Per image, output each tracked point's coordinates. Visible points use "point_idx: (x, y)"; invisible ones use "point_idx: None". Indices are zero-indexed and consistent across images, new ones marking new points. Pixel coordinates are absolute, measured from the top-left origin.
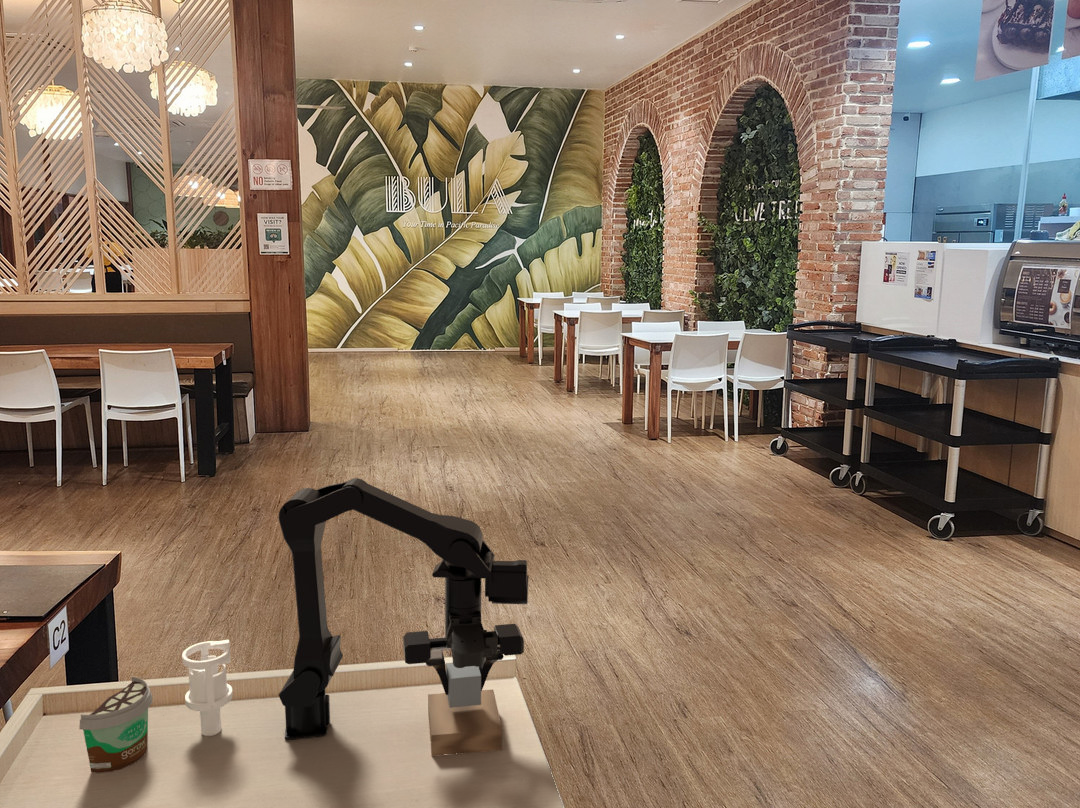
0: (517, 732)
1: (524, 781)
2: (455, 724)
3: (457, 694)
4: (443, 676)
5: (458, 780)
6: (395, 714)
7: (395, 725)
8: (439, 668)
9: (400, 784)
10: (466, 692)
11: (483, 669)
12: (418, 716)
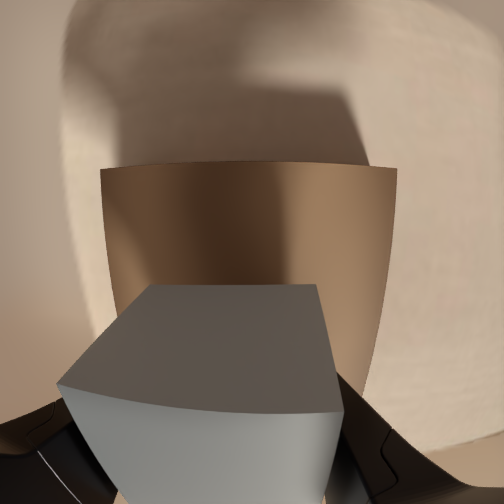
0: (95, 251)
1: (107, 26)
2: (286, 230)
3: (269, 322)
4: (375, 445)
5: (289, 29)
6: (421, 382)
7: (436, 339)
8: (437, 497)
9: (451, 60)
10: (204, 326)
11: (49, 431)
12: (372, 372)
